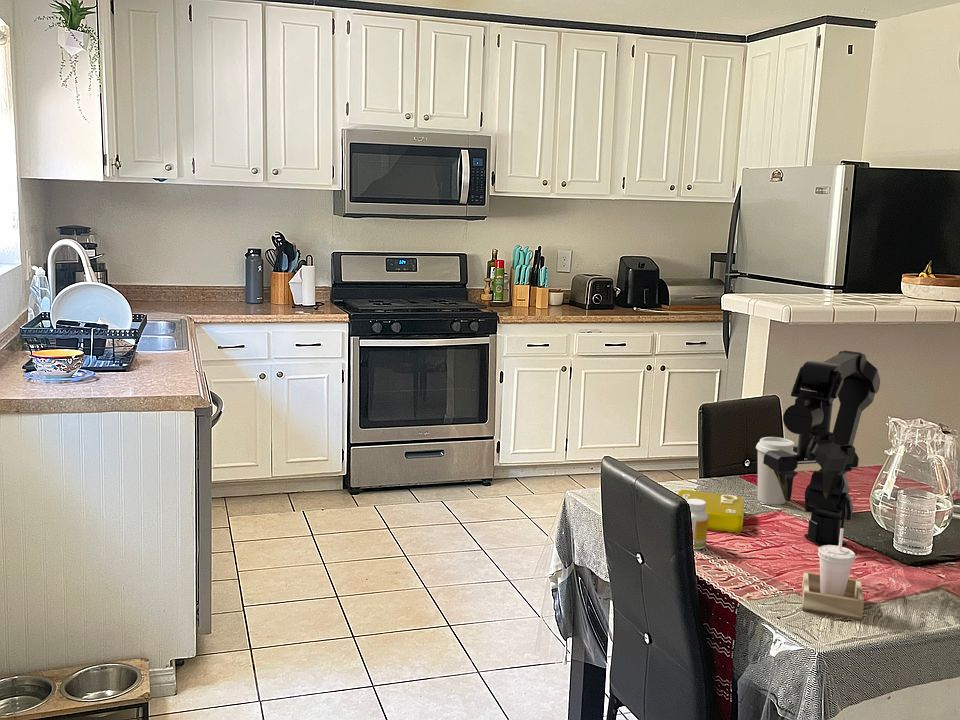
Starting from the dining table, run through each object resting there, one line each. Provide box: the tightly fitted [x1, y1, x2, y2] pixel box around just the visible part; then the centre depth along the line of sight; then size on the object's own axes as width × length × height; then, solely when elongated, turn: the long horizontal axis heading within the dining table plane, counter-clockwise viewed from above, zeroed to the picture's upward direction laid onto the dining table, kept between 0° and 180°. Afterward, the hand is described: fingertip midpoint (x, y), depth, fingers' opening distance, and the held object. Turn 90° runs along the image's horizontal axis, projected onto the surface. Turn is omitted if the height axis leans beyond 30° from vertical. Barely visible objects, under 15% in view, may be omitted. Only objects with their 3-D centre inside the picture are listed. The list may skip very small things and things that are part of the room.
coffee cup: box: [755, 436, 797, 506], centre depth 225 cm, size 10×10×15 cm
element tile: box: [677, 489, 745, 533], centre depth 212 cm, size 15×15×5 cm
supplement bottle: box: [687, 499, 708, 550], centre depth 195 cm, size 5×5×10 cm
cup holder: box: [801, 570, 865, 621], centre depth 170 cm, size 10×10×4 cm
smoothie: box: [817, 528, 856, 597], centre depth 169 cm, size 6×6×14 cm
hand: (807, 499), depth 187 cm, fingers open, 9 cm apart
